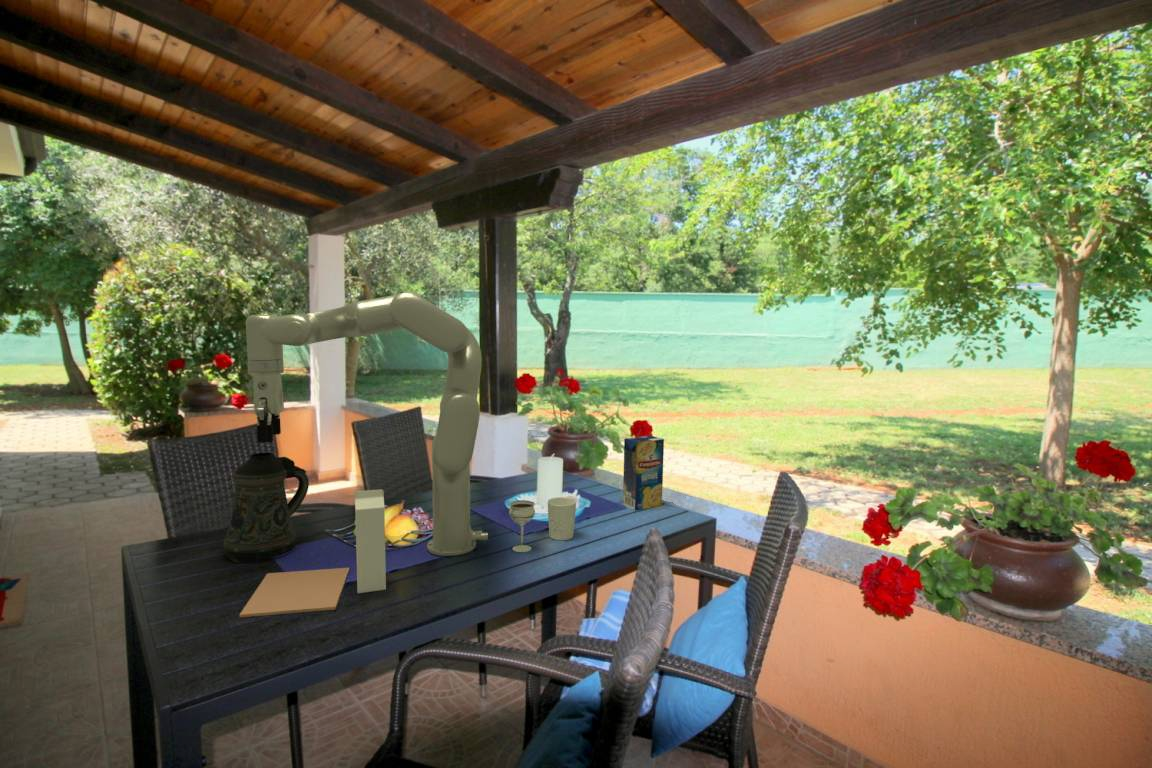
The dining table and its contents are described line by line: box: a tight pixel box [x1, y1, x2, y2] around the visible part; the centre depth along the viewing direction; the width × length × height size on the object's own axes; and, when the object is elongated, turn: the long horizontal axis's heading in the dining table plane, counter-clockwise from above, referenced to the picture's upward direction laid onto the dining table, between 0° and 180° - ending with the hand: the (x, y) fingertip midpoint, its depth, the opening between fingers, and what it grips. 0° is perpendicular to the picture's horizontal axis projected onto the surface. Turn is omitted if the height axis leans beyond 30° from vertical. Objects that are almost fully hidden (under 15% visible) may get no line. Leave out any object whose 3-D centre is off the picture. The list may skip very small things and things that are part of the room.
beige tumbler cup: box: [547, 496, 577, 541], centre depth 167 cm, size 8×8×10 cm
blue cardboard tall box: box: [622, 435, 665, 511], centre depth 196 cm, size 7×11×22 cm, turn 122°
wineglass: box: [508, 499, 536, 553], centre depth 158 cm, size 7×7×12 cm
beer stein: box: [223, 452, 310, 563], centre depth 155 cm, size 16×19×25 cm
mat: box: [238, 567, 351, 618], centre depth 132 cm, size 18×20×1 cm
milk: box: [354, 488, 387, 594], centre depth 134 cm, size 6×6×22 cm
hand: (269, 438), depth 145 cm, fingers open, 9 cm apart
